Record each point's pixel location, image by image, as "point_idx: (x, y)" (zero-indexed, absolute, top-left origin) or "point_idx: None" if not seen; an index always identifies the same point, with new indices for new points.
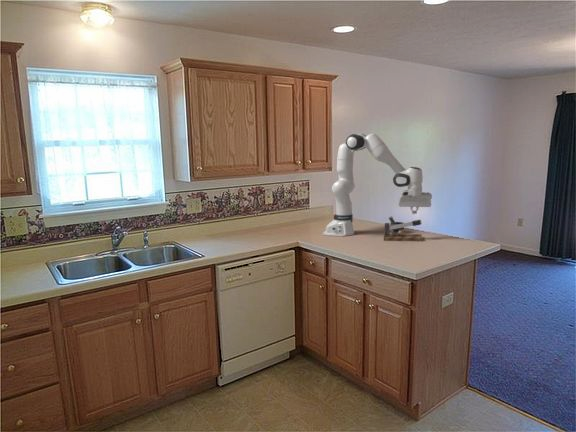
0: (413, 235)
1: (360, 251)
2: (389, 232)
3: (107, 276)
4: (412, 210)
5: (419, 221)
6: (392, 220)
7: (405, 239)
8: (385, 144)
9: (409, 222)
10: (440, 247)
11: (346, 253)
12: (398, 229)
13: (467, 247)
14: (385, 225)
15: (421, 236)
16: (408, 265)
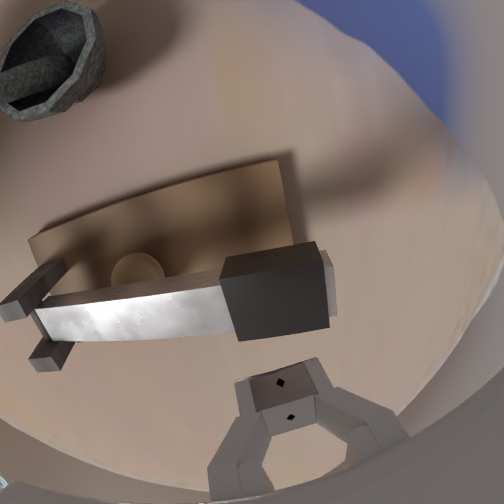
0: (226, 224)
1: (117, 456)
2: (55, 265)
3: (6, 485)
4: (260, 449)
5: (319, 325)
6: None
7: None
8: None
9: (196, 306)
10: (372, 355)
11: (102, 466)
12: (72, 104)
13: (451, 311)
14: (42, 368)
15: (290, 239)
16: (278, 485)
